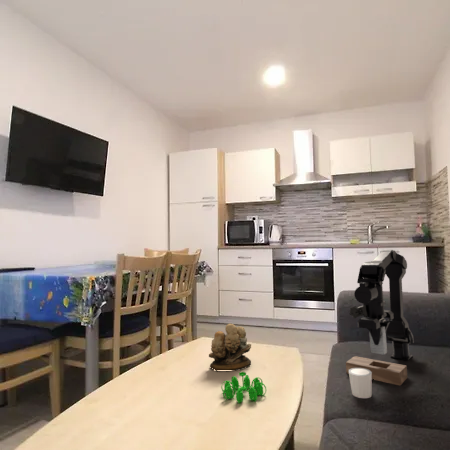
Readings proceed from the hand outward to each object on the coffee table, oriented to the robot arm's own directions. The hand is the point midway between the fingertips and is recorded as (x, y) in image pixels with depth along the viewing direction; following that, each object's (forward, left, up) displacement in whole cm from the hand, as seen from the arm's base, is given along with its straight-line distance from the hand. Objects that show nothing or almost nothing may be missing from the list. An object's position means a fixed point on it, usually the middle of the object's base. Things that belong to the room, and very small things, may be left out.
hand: (378, 343), depth 120 cm
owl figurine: (+21, -51, -12) cm, 56 cm away
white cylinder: (+17, 0, -12) cm, 21 cm away
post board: (0, -2, -11) cm, 11 cm away
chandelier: (+38, -30, -12) cm, 50 cm away
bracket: (0, 0, -3) cm, 3 cm away
